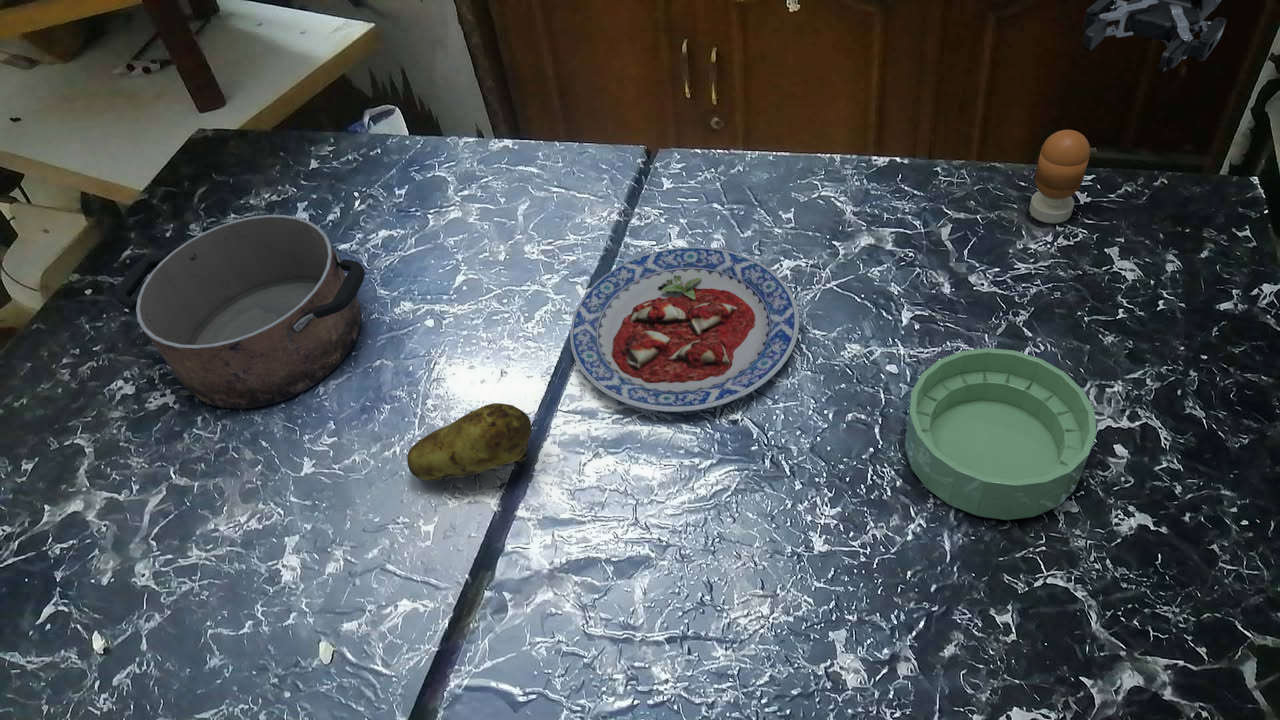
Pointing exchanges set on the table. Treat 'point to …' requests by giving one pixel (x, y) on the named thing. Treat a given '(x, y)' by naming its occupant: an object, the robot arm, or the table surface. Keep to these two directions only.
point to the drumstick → (1059, 175)
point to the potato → (472, 444)
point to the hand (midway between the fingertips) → (1124, 53)
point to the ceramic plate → (684, 329)
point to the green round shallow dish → (998, 433)
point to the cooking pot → (249, 309)
